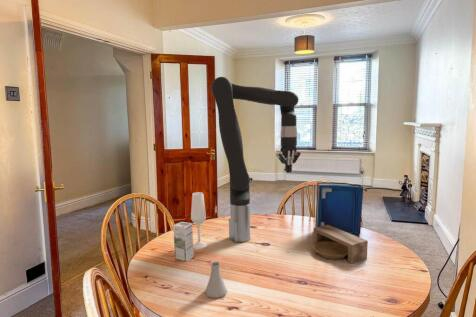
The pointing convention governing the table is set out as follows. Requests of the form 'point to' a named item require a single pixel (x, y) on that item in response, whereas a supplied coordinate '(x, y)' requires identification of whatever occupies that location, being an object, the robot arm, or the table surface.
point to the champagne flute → (198, 215)
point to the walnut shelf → (342, 241)
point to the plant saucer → (331, 249)
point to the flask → (215, 282)
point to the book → (339, 206)
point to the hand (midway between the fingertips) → (288, 172)
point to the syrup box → (183, 241)
